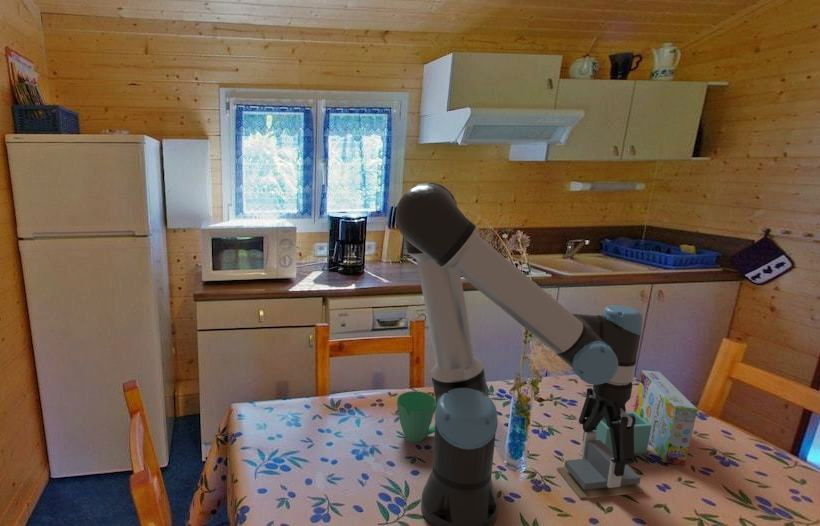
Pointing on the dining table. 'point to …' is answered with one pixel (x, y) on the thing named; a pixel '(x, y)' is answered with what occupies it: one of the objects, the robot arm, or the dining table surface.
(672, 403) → the snack box
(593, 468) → the lid
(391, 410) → the dining table surface
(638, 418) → the tub
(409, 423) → the mug
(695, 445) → the dining table surface
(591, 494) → the plate
